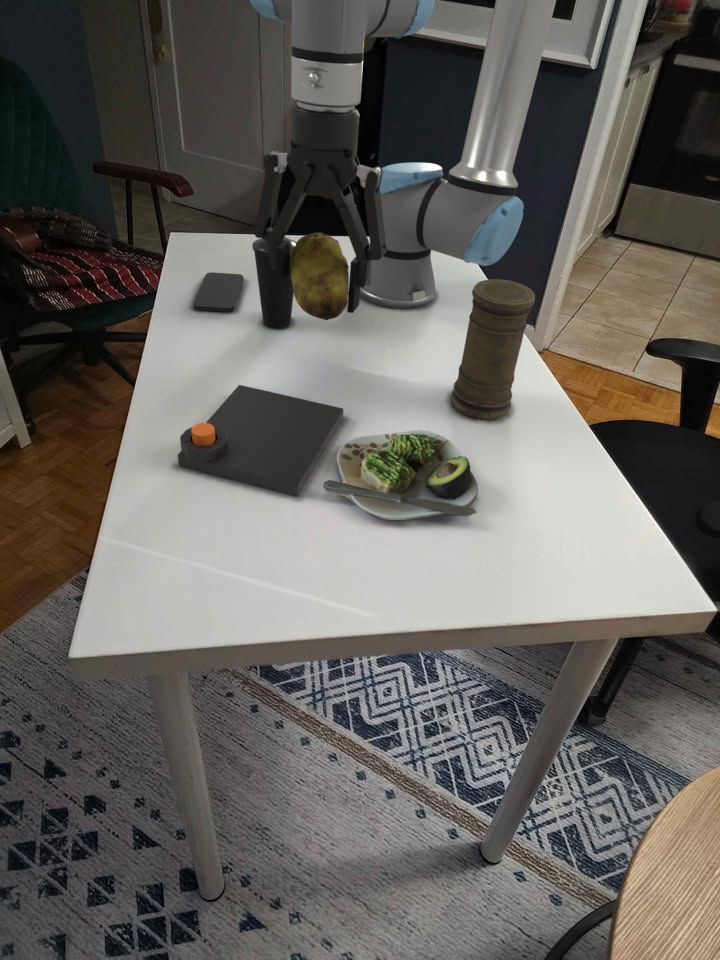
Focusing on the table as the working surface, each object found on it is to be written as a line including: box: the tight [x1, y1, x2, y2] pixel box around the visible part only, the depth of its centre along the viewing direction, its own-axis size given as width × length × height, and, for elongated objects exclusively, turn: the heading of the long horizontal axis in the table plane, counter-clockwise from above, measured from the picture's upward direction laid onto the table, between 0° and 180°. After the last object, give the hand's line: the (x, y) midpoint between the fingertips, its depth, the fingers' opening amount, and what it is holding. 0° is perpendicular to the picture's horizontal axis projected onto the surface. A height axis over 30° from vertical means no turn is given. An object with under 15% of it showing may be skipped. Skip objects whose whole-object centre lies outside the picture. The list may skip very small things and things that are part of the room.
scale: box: [177, 384, 344, 497], centre depth 86 cm, size 18×16×4 cm
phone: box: [192, 271, 245, 313], centre depth 121 cm, size 7×1×15 cm
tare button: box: [191, 422, 216, 446], centre depth 80 cm, size 3×3×2 cm
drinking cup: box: [251, 203, 297, 330], centre depth 107 cm, size 8×8×20 cm
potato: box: [290, 232, 350, 321], centre depth 82 cm, size 8×13×8 cm, turn 175°
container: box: [450, 278, 536, 421], centre depth 92 cm, size 9×9×18 cm
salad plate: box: [322, 429, 479, 521], centre depth 80 cm, size 19×18×5 cm
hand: (317, 301), depth 84 cm, fingers closed on potato, 9 cm apart
